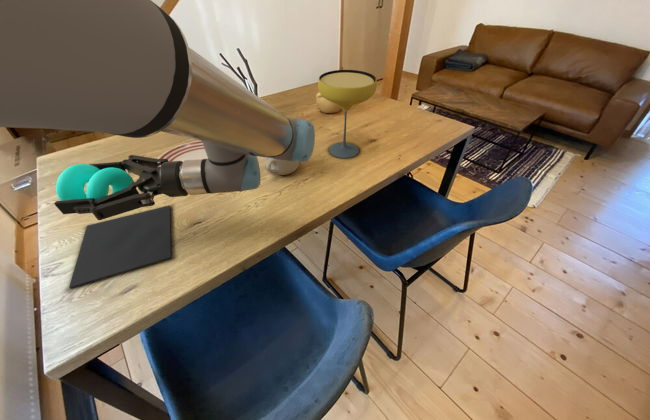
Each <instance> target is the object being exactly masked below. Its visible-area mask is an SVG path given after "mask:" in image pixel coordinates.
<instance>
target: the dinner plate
mask: <svg viewBox="0 0 650 420" xmlns="http://www.w3.org/2000/svg"><path fill="white" fill-rule="evenodd" d="M156 159H168V161H169V162H172V161H182V162H184V161H185V160H196V159H208V157H207V154H206V151H205V148H204V146H203V143H202V141H200V140H193V141H189V142H185V143H182V144H181V143H180V144H179V145H176V146H173V147H171V148H169V149H167V150H166V151H164V152H163V153H161V155H159V156H158V157H157V158H156Z"/></svg>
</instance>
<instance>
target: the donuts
mask: <svg viewBox="0 0 650 420" xmlns="http://www.w3.org/2000/svg"><path fill="white" fill-rule="evenodd" d="M89 164H90V163H89ZM89 164H88V163H78V164H77V163H76V164H72V165H69V167H67V168H65V169H64V170H63V171H62V172H61V173H60V174H59V176H58V177H57V180H56V182H55V183H56V184H55V192H56V195H57V198H58V199H59V201H64V200H75V199H86V198H94V199H95V200H98V199H100V198H103V197H105V196H108V195H109V193H110V186H111V188H112V191H111V192H112V193H111V194H113V193H115V192H118V191H120V190H122V189H125V188H127V187H129V185H130V184H131V183H134V182H135V181H134V178H133V177H132V176H131V175H130V174H129V173H128V171H126V172H125V171H124V170H122V169H119V168H105V169H102V170H100V169H98V168H97V167H95V166H92V165H89ZM85 186H86V188H85ZM101 205H102V204H101Z"/></svg>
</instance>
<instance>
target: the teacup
mask: <svg viewBox="0 0 650 420" xmlns="http://www.w3.org/2000/svg"><path fill="white" fill-rule="evenodd" d="M265 159H266V160H265V161H266V162H265V169H266V171H267V173H268V172H269V173H271V174H275V175H276V174H277V175H281V176H286V175H290V174H292V173H294V172H295V171H296V170H297V169H298V167H299V164H300V162H298V161H294V162H292V161H287V160H280V159H273V158H267V157H265Z"/></svg>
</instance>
